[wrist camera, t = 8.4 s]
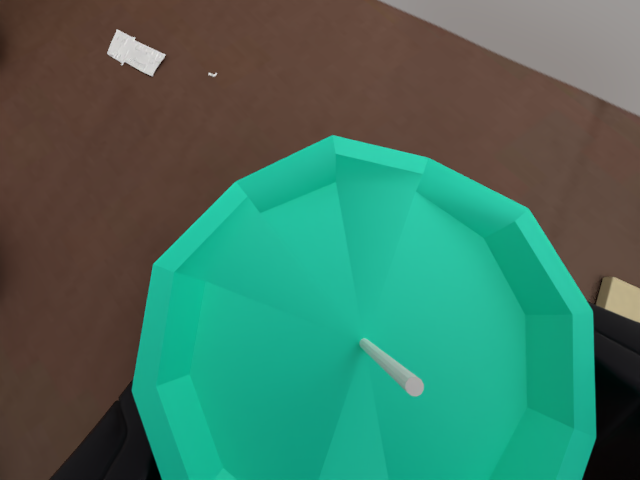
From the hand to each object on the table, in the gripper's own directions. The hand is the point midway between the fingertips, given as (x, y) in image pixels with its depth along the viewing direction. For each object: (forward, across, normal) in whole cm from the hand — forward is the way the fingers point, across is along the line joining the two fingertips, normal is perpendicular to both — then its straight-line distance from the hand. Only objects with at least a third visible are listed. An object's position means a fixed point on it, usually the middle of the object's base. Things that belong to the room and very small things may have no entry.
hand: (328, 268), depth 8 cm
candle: (+4, 0, +6) cm, 7 cm away
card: (+23, +8, -4) cm, 25 cm away
